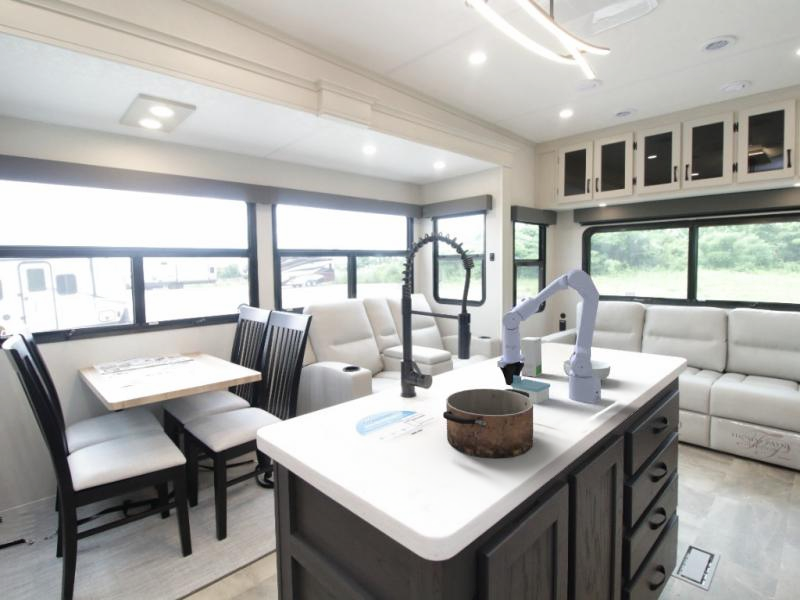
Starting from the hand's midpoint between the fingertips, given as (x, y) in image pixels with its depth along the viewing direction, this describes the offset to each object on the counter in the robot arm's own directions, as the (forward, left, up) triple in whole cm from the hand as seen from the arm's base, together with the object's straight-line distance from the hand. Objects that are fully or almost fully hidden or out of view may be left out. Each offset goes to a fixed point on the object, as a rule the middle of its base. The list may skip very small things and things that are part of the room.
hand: (512, 383), depth 145 cm
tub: (-7, 0, -4) cm, 8 cm away
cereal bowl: (-10, -36, -5) cm, 38 cm away
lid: (-5, 0, 0) cm, 5 cm away
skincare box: (+11, -31, -5) cm, 33 cm away
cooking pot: (-16, +36, -5) cm, 40 cm away
